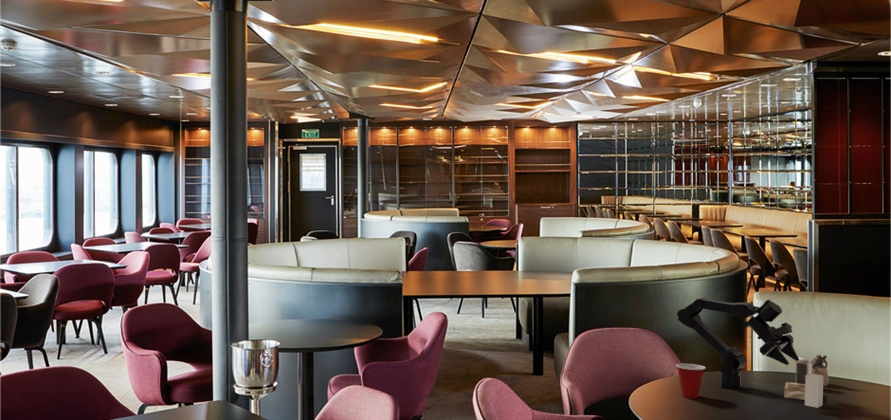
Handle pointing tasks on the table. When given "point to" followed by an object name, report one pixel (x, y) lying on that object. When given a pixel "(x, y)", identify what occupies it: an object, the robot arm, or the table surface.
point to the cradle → (798, 380)
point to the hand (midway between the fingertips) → (793, 362)
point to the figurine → (820, 368)
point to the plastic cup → (690, 379)
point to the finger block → (814, 390)
